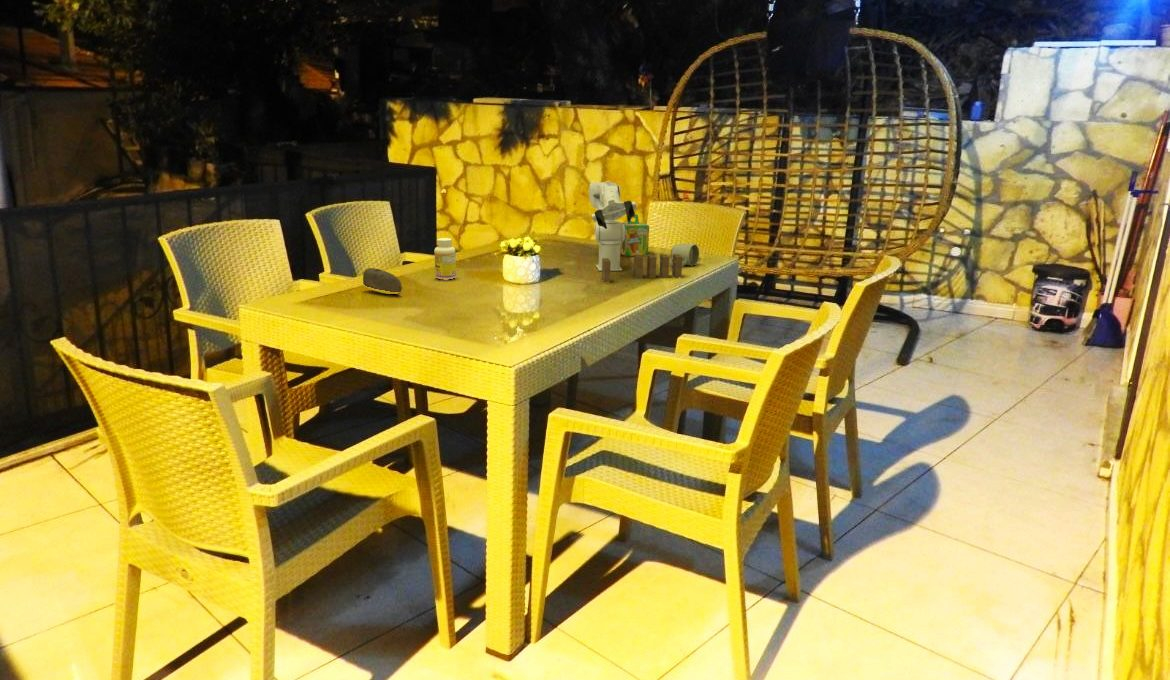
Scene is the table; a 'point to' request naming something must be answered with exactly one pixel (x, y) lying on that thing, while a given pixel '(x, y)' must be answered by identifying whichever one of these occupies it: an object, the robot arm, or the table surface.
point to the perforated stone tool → (381, 280)
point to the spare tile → (606, 269)
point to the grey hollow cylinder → (686, 253)
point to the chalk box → (635, 238)
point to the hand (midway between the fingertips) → (616, 222)
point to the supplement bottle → (445, 259)
